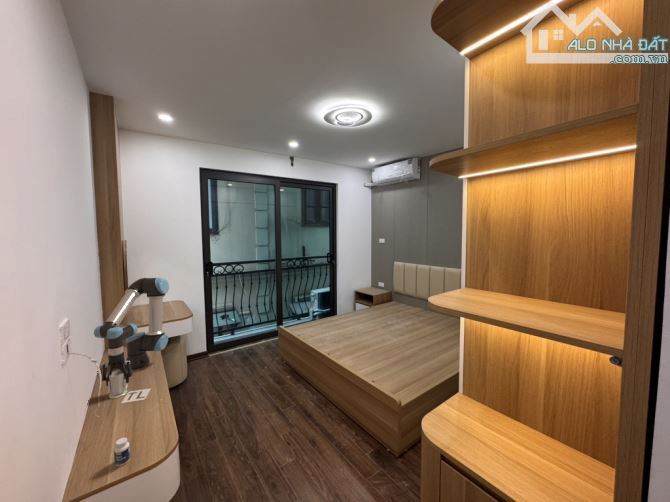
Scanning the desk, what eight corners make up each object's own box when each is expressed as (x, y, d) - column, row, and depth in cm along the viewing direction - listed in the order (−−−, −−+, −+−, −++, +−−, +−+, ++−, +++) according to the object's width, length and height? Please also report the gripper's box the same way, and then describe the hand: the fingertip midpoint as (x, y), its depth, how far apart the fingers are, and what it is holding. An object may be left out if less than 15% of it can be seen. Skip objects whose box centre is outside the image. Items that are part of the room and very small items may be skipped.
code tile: (128, 392, 172) (128, 391, 172) (151, 388, 176) (151, 388, 175) (120, 403, 160) (120, 403, 160) (144, 400, 164) (144, 399, 164)
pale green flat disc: (112, 391, 172) (112, 390, 172) (129, 388, 175) (129, 387, 175) (106, 399, 163) (106, 398, 163) (124, 397, 166) (124, 396, 166)
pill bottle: (114, 469, 117) (112, 447, 116) (115, 460, 121) (113, 439, 120) (130, 462, 120) (129, 441, 119) (130, 454, 124) (129, 434, 124)
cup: (117, 396, 164) (116, 377, 163) (106, 394, 166) (105, 375, 165) (129, 388, 172) (128, 370, 171) (119, 387, 174) (118, 368, 173)
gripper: (92, 358, 160) (94, 395, 162) (133, 353, 167) (135, 389, 169) (98, 352, 167) (100, 388, 169) (138, 348, 174) (139, 383, 176)
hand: (118, 389), depth 169 cm, fingers closed on cup, 7 cm apart
